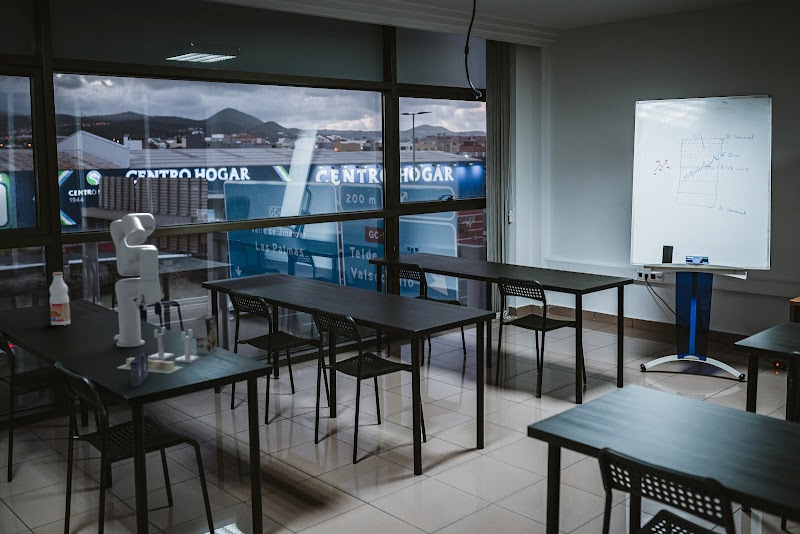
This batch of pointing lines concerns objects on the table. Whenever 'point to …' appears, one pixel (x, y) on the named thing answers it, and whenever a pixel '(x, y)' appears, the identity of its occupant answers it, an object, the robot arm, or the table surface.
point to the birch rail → (155, 364)
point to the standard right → (187, 349)
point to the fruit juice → (59, 301)
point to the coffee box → (206, 334)
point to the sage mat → (154, 369)
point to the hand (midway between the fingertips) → (151, 316)
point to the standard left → (160, 346)
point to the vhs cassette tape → (139, 369)
